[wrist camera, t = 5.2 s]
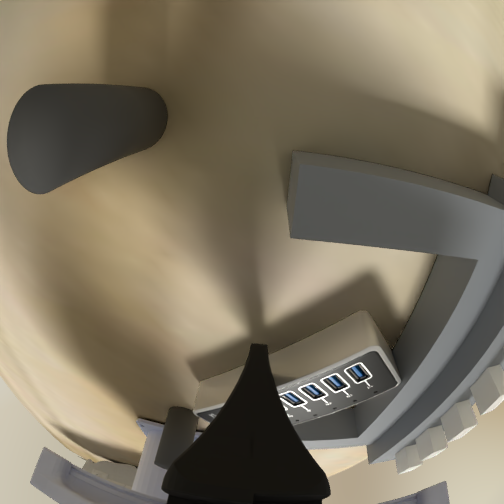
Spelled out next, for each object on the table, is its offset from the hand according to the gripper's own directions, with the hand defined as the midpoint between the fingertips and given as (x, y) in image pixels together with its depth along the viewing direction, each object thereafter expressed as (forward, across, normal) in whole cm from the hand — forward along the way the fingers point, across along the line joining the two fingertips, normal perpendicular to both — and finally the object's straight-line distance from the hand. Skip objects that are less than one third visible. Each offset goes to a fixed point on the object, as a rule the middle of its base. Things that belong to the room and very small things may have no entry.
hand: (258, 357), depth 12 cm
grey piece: (+1, -7, 0) cm, 7 cm away
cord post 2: (+1, +5, -10) cm, 11 cm away
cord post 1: (+1, +5, +10) cm, 11 cm away
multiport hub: (+1, -2, +3) cm, 4 cm away
